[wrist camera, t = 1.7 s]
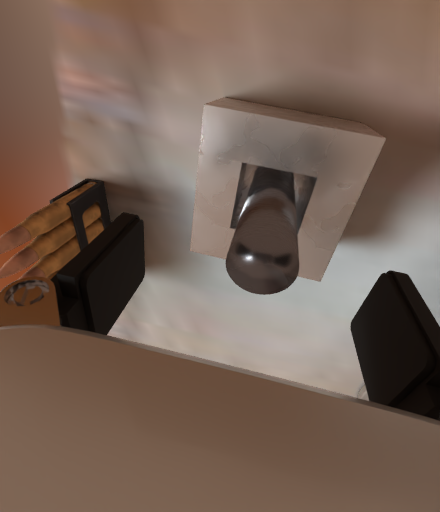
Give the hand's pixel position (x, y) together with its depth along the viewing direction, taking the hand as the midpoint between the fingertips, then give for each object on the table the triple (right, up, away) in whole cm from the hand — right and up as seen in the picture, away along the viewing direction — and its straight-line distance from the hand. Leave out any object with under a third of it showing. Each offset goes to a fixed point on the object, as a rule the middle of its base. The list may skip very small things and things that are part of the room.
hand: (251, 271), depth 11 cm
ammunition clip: (-14, +4, +19) cm, 23 cm away
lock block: (+3, +7, +12) cm, 14 cm away
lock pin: (+3, +7, +11) cm, 13 cm away
